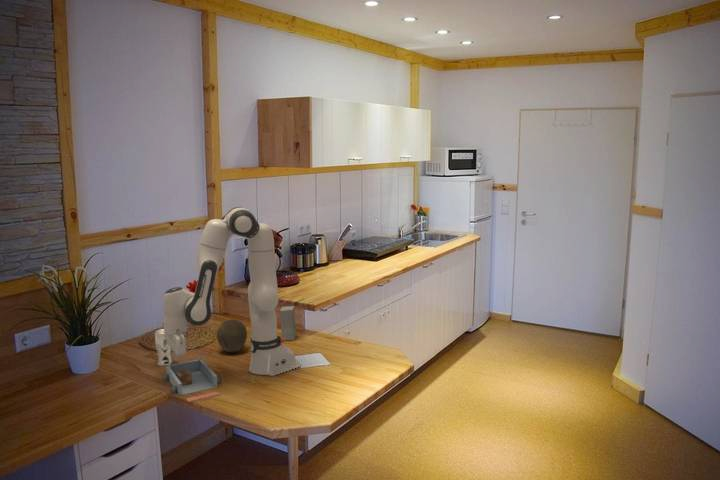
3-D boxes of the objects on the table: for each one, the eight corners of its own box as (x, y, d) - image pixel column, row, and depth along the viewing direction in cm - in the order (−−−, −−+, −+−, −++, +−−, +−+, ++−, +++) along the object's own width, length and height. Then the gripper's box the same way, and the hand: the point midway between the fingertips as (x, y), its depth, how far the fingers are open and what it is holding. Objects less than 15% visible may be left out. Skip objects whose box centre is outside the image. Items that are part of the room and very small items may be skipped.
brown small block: (188, 379, 235) (188, 369, 234) (192, 384, 230) (191, 373, 230) (176, 382, 232) (175, 371, 231) (179, 386, 228) (178, 376, 227)
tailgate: (214, 388, 227) (219, 394, 220) (214, 391, 227) (220, 396, 220) (183, 395, 221) (188, 401, 214) (183, 398, 221) (188, 403, 214)
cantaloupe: (252, 352, 270) (251, 321, 267) (224, 358, 262) (222, 327, 260) (241, 343, 281) (239, 314, 279) (213, 349, 274) (211, 319, 271)
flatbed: (207, 370, 248) (206, 357, 247) (222, 389, 229) (222, 374, 228) (161, 380, 238) (160, 366, 237) (173, 400, 219) (172, 385, 218)
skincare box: (294, 340, 285) (293, 310, 283) (280, 340, 285) (279, 310, 283) (296, 335, 293) (295, 305, 291) (282, 335, 294) (281, 305, 291)
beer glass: (168, 366, 253) (165, 334, 250) (153, 365, 254) (151, 333, 252) (176, 360, 260) (174, 329, 257) (162, 359, 261) (159, 328, 259)
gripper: (189, 332, 228) (190, 366, 230) (177, 319, 245) (178, 350, 247) (173, 335, 224) (174, 368, 226) (161, 321, 242) (163, 352, 244)
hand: (176, 359), depth 237 cm, fingers closed
